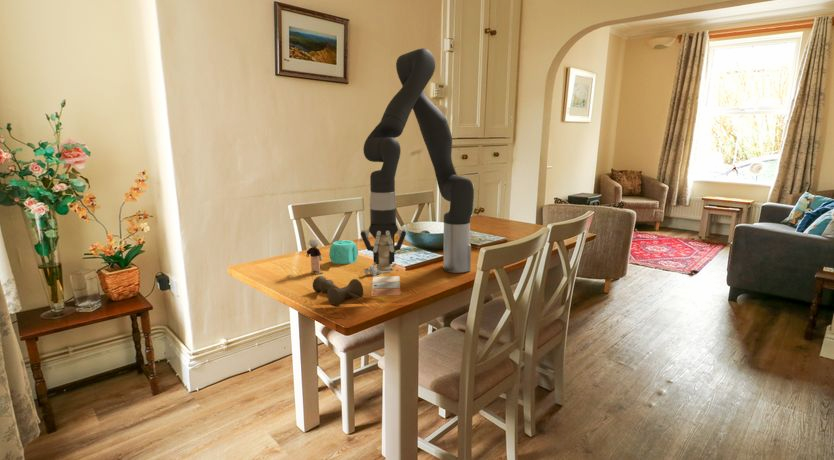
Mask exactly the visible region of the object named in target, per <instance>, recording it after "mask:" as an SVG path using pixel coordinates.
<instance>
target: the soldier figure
mask: <svg viewBox="0 0 834 460" xmlns="http://www.w3.org/2000/svg"><path fill="white" fill-rule="evenodd" d="M391 265H392V268H394V267H396V266H397V263H396V262H395V263H394V264H393V263H392V264H391ZM363 271H364V274H365V276H367V275H368V274H369V273H370V274H371V276H373V277H378V275H382V274H390V273H393V272H394V271H396V272H399V269H395V270H390V271H378V270H377V264H376V263H374V262H373V263H372V264H371V266H369V267H368V268H364V269H363Z"/></svg>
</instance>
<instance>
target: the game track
mask: <svg viewBox="0 0 834 460" xmlns="http://www.w3.org/2000/svg"><path fill="white" fill-rule="evenodd" d="M371 284H372V285H371V294H370V296H371V297H374V296H375V297H376V296H378V297H379V296H401V280H400V275H393V276H392V275H391V276H386V275H385V276H373V277H372V283H371Z"/></svg>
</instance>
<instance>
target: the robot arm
mask: <svg viewBox="0 0 834 460" xmlns="http://www.w3.org/2000/svg"><path fill="white" fill-rule="evenodd" d="M432 53H433V52H431V51H430V50H429V49H426V48H417V49H415V50H412V51H409V52H406V53H403V54H402V55H399V56H398V57H397V60H396V61H395V62H396V63H395V64H396V65H395V67H396V74H397V76H398V79H399V81H400V84H401V86H402V87H401V88H400V89H399V90H398V92H397V93H396V94H395V95H394V96H393V97H392V98H391V100H390V101H389V102H388V104H387V106H386V108H385V111H384V112H383V114H382V117H381V119H380V122H379V123H378V124H377V125H376V126H375V128H374V129H373V130H371V132H370V133H369V135H367V138H366V139H365V141H364V143H363V156H364V158H365V159H366V160H367V161H368V162H371V163H372V162H373V163H382V165H381V169H378V170H374V171H372V172H371V173H370V178H369V179H370V181H369V183H370V194H369V195H370V196H369V217H370V218H369V219H370V225H369V227H368V228H367V229H365V230H364V229H362V230H361V231H360V236H361V238H362V240H363V243H364V246H365V248H366V250H367V251H371V252H372V254H373V255H372V256H373V263H376V265H378V244H379V240H380V236H381V235H386V236H387V240H388V244H389V247H390V264H391V265H393V263H394V262H395V252H396V251H399V250H401V248H402V246H403V243H404V240H405V237H406V235H407V231H406V230H405V229H401V228H399V227H398V225H397V202H396V201H397V200H396V199H397V197H396V190H395V189H396V187H395V186H396V183H395V181H396V180H395V177H396V173H397V168H398V165H399V161H400V158H401V150H402V149H401V145H400V143H399V141H398V140H397V138H398V137H400V136H401V135H402V134H403V132H404V129H405V127H406V124H407V122H408V120H409V117H410V114H411V112H412V110H413V113H414V116H415V119H416V121H417V125H418V127H419V130H420V135H421V136H422V139H423V141H424V144H425V146H426V150H427V152H428V155H429V158H430V161H431V163H432V165H433V170H434V174H435V177H436V182H437V185H438V190H439V193H440V195H441V197H442V198H443V199H444V200H446V201H447V202H449V203H450V204H449V211H448V212H445V214H444V215H443V270H444V271H445V272H448V273H453V274H454V273H455V274H458V273H459V274H462V273H467V272H471V270H472V269H471V267H472V245H471V239H470V238H471V218H472V215H473V211H474V195H475V193H474V191H475V190H474V185H473V182H472V180H471V179H470V178H468V177H466V176H461V175H458V174H457V171H456V168H455V166H454V163H453V160H452V151H453V150H452V149H453V136H452V131H451V129H450V126H449V123H448V120H447V117H446V116H445V114H444V113H443V112H442V111H441V110H440V108H438V107H437V105H435V104H434V103H433V102H432V101H431V100H430V99H429V97H428V96H427V94H426V93H425V91H424V89H425V88H426V87H427V85H428V84H429V81H431V79H432V77H433V75H434V72H435V70H436V60H435V57H434V55H433V54H432ZM369 234H371V236H372V237H373V238H374V244H373V245H372V244H371V242H370V240H369V237H370V235H369ZM396 234H397V236H398V240H397V243H396V245H394V242H393V238H394V236H395V235H396Z"/></svg>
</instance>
